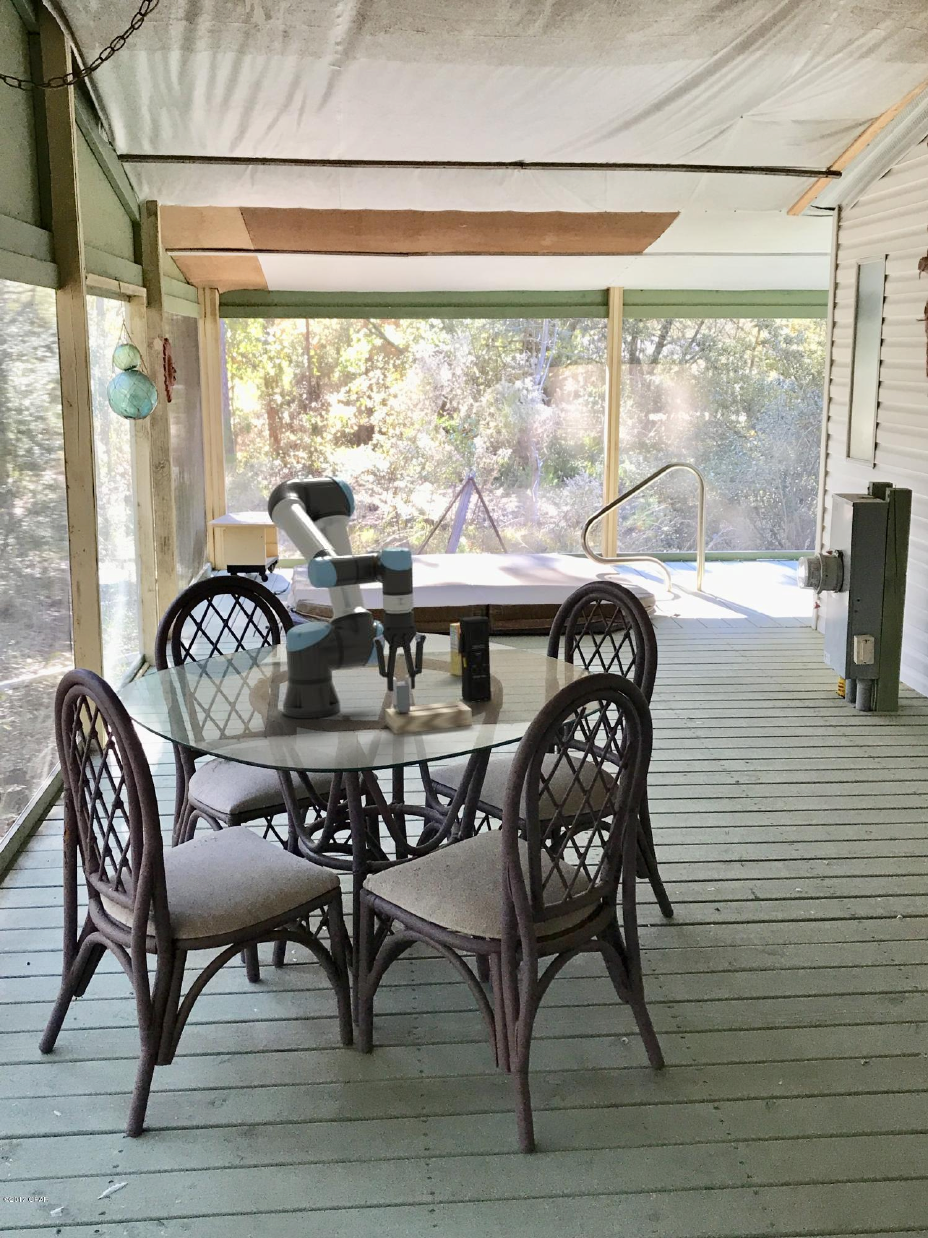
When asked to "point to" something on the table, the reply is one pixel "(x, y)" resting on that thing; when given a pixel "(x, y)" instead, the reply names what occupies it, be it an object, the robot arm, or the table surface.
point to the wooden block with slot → (429, 717)
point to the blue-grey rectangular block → (402, 698)
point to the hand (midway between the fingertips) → (401, 702)
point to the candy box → (455, 649)
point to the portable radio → (475, 658)
